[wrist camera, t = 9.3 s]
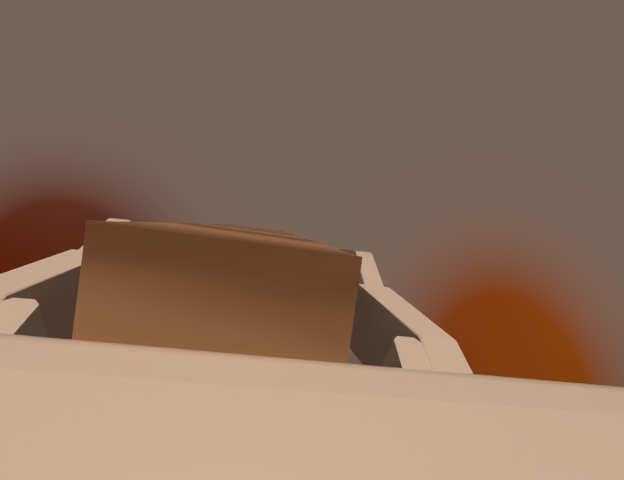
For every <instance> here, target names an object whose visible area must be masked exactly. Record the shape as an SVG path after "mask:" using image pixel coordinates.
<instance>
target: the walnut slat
mask: <svg viewBox="0 0 624 480" xmlns="http://www.w3.org/2000/svg"><path fill="white" fill-rule="evenodd" d="M362 258H363V257H361V256H358V255H354V254H351V253H348V252H345V251H342V250H339V249H336V248H332V247H329V246H326V245H323V244H320V243H317V242H313V241H311V240H308V239H304V238H301V237H298V236H295V235H292V234H289V233H286V232H283V231H275V230H268V229H260V228H253V227H246V226H239V225H225V224H224V225H223V224H189V223H186V224H185V223H153V222H117V221H86V229H85V237H84V245H83V253H82V261H81V269H80V277H79V285H78V293H77V301H76V309H75V317H74V325H73V333H72V340H83V341H95V342H107V343H118V344H130V345H141V346H153V347H164V348H176V349H187V350H198V351H210V352H221V353H233V354H244V355H256V356H268V357H279V358H291V359H302V360H314V361H326V362H337V363H348V355H349V349H350V342H351V335H352V328H353V321H354V314H355V307H356V300H357V293H358V286H359V279H360V272H361V265H362Z"/></svg>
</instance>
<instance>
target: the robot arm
mask: <svg viewBox="0 0 624 480" xmlns="http://www.w3.org/2000/svg"><path fill="white" fill-rule="evenodd" d="M107 221H117V222H137V221H130V220H123V219H115V218H110V219H107ZM339 250H342V251H345V252H348V253H351V254H354V255H358V256H361V257H363V258H362V265H361V272H360V279H359V286H358V293H357V300H356V307H355V314H354V321H353V328H352V335H351V342H350V348H351V350H352V351H353V352H354V354H355V355H356V356H357V358H358V359H359V360H360V362H361V363H362V364H363V365H360V364H349V363H337V362H326V361H314V360H302V359H291V358H279V357H268V356H256V355H244V354H233V353H221V352H210V351H198V350H187V349H176V348H164V347H153V346H141V345H130V344H118V343H107V342H95V341H83V340H72V333H73V325H74V317H75V309H76V301H77V293H78V285H79V277H80V269H81V261H82V253H83V246H82V247H81V248H80V249H79V250H73V249H72V250H69V251H66V252H63V253H60V254H57V255H55V256H51V257H49V258H46V259H43V260H40V261H37V262H34V263H31V264H28V265H25V266H23V267H20V268H17V269H14V270H11V271H8V272H5V273H2V274H0V480H624V387H615V386H602V385H592V384H579V383H569V382H557V381H545V380H533V379H522V378H511V377H499V376H488V375H476V374H473V373H472V371H471V369H470V367H469V365H468V363H467V361H466V359H465V357H464V355H463V353H462V351H461V349H460V348H459V346H458V344H457V342H456V340H454V339H453V338H452V337H451V336H449V335H448V334H447V333H446V332H444V331H443V330H442V329H441V328H439V327H438V326H437V325H435V324H434V323H433V322H432V321H430V320H429V319H428V318H427V317H425V316H424V315H423V314H422V313H420V312H419V311H418V310H417V309H415V308H414V307H413V306H412V305H410V304H409V303H408V302H407V301H405V300H404V299H403V298H401V297H400V296H399V295H398V294H396V293H395V292H394V291H393V290H391V289H390V288H388V287H384V286H383V283H382V280H381V278H380V275H379V272H378V269H377V266H376V264H375V261H374V258H373V255H372V253H370V252H362V251H352V250H343V249H339Z"/></svg>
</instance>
